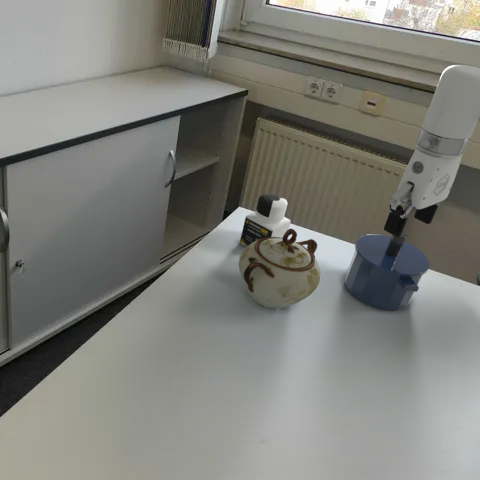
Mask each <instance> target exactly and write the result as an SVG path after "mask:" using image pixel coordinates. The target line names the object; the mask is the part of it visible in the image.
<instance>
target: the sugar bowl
mask: <svg viewBox="0 0 480 480" xmlns="http://www.w3.org/2000/svg"><path fill="white" fill-rule="evenodd" d="M289 236H290V238H289ZM297 237H298V232H297V231H296V230H295V229H294V228H289V229H288V230H287V231H286V232H285V234H284V236H283V238H280V237H266V238H262V239H260V240H258V241H255V242H253V243H251V244H250V245H248V246H245V248H244V249H243V250H242V252H241V253H240V256H239V258H238V271H239V274H240V276H241V279H242V281H243V283H244V286H245V287H246V289H247V291H248V294H249V296H250V297H251V299H252V300H253V301H255V302H256V304H258V305H260V306H261V307H264V308H267V309H270V310H284V309H286V308H288V307H290V306H293V305H296V304H297V303H300V302H302V301H303V300H305V299H306V298H308V297H309V296H311V295H312V294H313V293H314V292H315V291H316V290H317V288H318V286H319V284H320V281H321V269H320V266H319V264H318V261H317V260H316V255H315V253H316V250H317V249H318V243H317V241H316V240H315V239H312V238H310V239H307V240H303V241H297Z"/></svg>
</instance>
